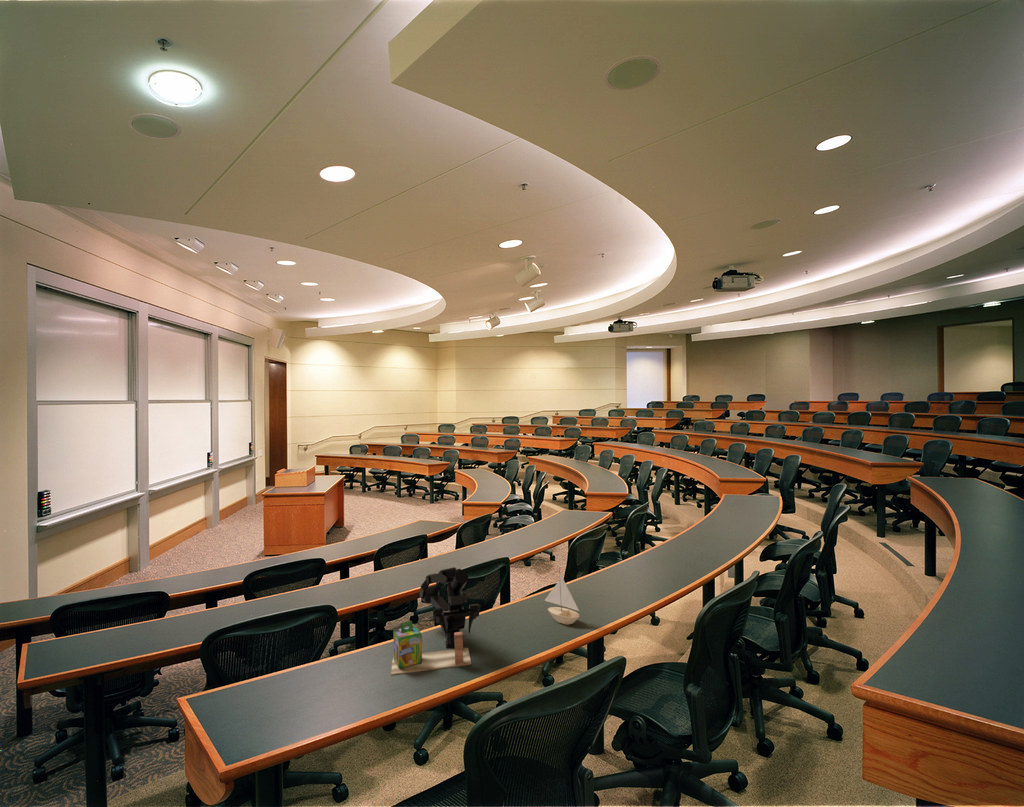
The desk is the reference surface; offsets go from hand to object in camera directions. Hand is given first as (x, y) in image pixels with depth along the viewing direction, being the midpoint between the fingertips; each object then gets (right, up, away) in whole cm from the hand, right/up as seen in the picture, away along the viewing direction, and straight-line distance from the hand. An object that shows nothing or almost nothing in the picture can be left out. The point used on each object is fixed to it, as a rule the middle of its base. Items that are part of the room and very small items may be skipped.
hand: (457, 633), depth 188 cm
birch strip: (-10, -11, 0) cm, 15 cm away
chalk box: (-19, -11, -1) cm, 22 cm away
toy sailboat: (+45, -11, +34) cm, 57 cm away
